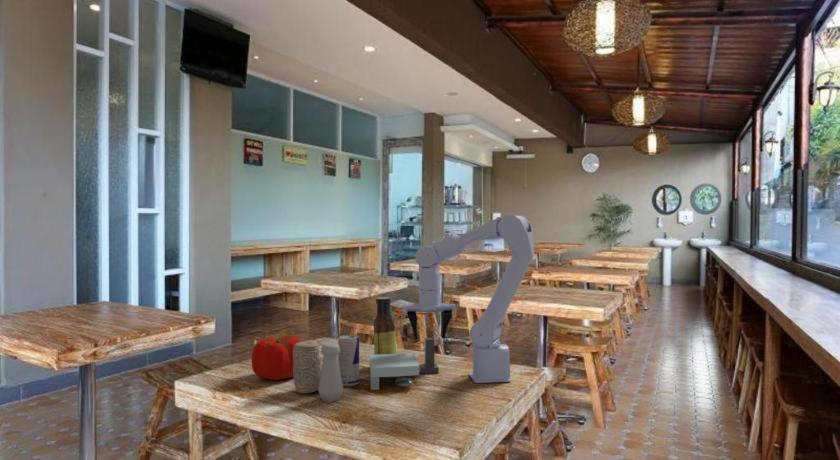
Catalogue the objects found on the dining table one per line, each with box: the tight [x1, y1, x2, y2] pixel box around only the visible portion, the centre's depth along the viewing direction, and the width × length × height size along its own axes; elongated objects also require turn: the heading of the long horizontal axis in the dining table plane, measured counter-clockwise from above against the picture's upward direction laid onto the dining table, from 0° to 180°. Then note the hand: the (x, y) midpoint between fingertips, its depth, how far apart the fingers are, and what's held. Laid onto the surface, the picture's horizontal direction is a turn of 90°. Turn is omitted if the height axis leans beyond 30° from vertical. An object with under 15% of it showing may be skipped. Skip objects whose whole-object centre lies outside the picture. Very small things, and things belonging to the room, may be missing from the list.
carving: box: [292, 340, 322, 394], centre depth 124 cm, size 6×8×12 cm
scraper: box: [418, 337, 440, 375], centre depth 139 cm, size 13×4×9 cm, turn 97°
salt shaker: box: [317, 342, 344, 403], centre depth 118 cm, size 6×6×13 cm
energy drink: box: [337, 334, 360, 387], centre depth 130 cm, size 5×5×12 cm
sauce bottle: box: [373, 296, 397, 355], centre depth 144 cm, size 7×6×20 cm
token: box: [395, 377, 414, 388], centre depth 129 cm, size 4×4×1 cm
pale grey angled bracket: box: [369, 352, 420, 391], centre depth 131 cm, size 12×12×6 cm
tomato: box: [251, 334, 302, 381], centre depth 136 cm, size 14×13×10 cm
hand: (429, 338), depth 140 cm, fingers open, 7 cm apart
